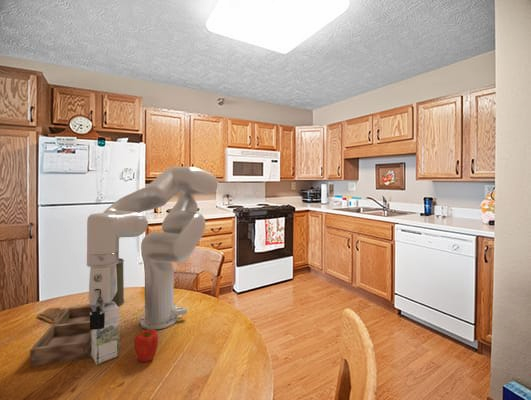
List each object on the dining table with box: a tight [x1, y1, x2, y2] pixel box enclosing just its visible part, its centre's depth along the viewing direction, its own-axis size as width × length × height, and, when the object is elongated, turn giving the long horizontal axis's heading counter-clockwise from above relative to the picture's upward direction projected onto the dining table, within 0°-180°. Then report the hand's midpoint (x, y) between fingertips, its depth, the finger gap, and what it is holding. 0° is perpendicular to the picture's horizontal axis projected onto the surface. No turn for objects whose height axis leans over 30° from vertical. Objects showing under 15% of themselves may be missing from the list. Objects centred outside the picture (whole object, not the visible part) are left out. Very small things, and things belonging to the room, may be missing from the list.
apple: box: [133, 329, 159, 363], centre depth 75 cm, size 6×6×8 cm
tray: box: [29, 305, 91, 367], centre depth 85 cm, size 13×25×4 cm, turn 17°
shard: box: [37, 306, 67, 324], centre depth 97 cm, size 11×8×2 cm
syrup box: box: [90, 301, 120, 365], centre depth 76 cm, size 6×6×14 cm
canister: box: [100, 257, 125, 308], centre depth 108 cm, size 11×10×20 cm
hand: (102, 320), depth 75 cm, fingers open, 9 cm apart
